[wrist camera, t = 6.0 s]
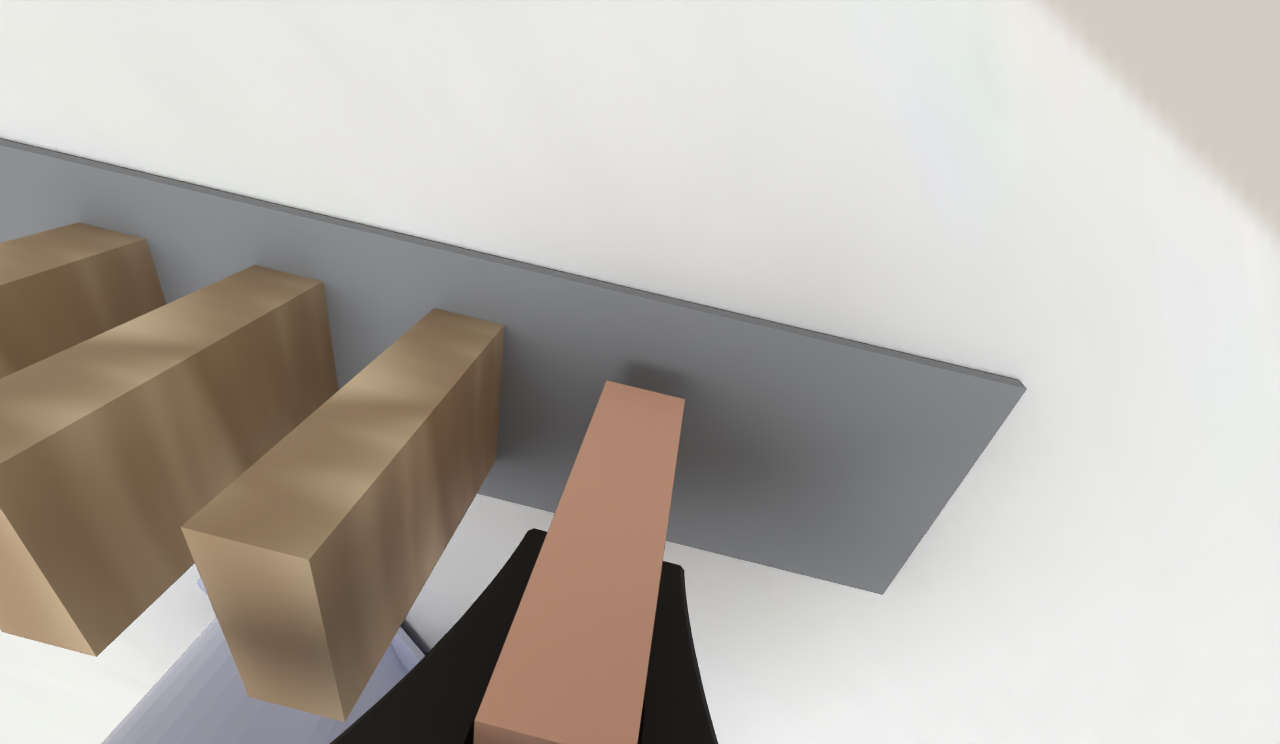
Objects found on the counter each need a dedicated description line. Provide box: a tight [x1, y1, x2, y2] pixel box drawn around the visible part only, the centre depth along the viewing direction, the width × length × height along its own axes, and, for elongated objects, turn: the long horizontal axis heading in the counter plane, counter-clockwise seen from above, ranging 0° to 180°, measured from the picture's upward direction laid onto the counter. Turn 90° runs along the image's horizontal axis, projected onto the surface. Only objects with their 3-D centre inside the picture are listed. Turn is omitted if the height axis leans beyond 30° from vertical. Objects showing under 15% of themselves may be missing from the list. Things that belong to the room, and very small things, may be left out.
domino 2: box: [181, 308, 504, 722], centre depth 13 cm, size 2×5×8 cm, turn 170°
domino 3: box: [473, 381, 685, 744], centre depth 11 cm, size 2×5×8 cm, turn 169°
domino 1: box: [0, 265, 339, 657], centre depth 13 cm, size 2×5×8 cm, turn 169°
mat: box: [0, 139, 1027, 595], centre depth 16 cm, size 34×8×1 cm, turn 79°
